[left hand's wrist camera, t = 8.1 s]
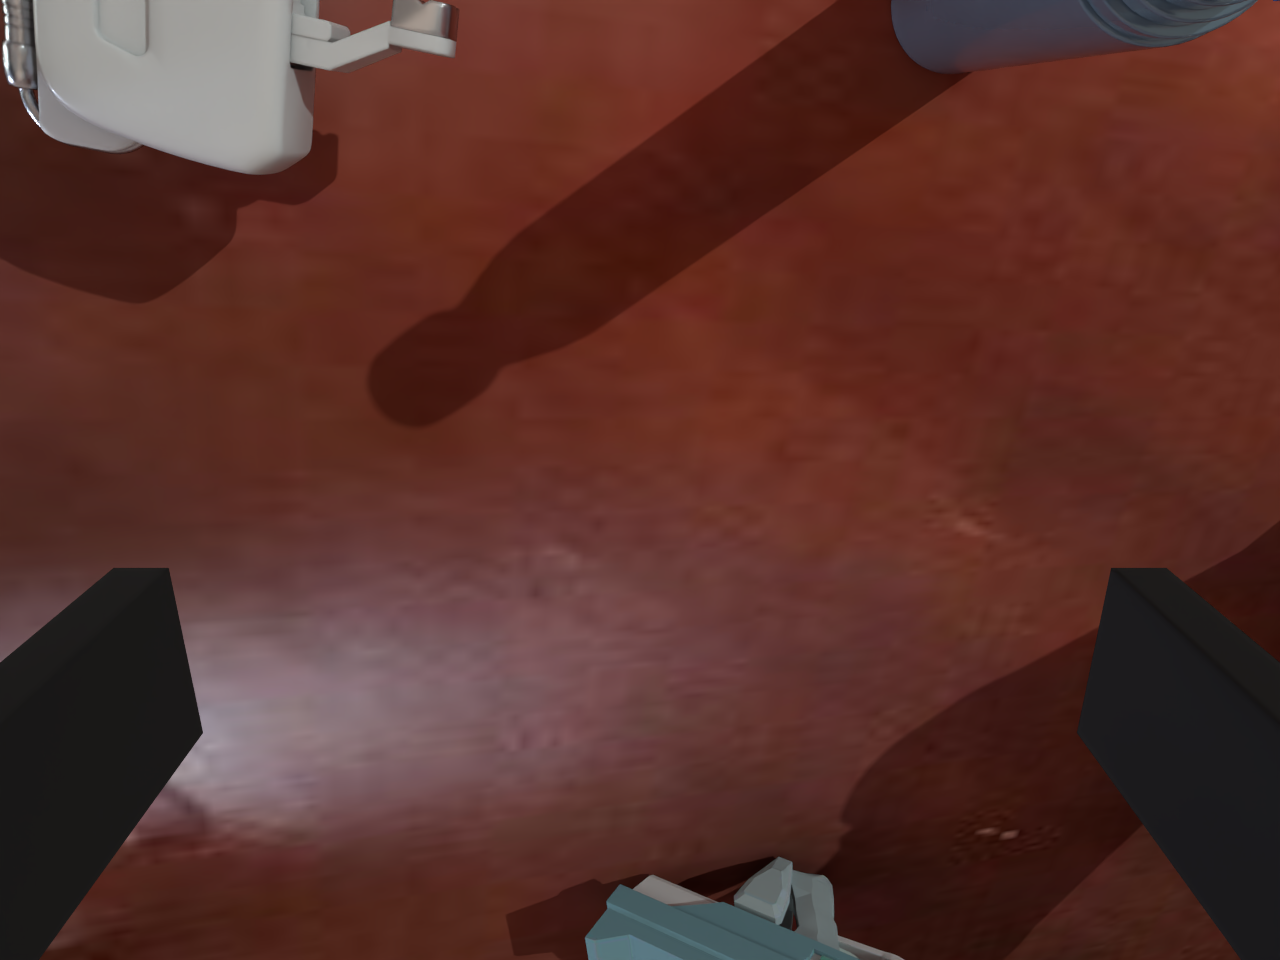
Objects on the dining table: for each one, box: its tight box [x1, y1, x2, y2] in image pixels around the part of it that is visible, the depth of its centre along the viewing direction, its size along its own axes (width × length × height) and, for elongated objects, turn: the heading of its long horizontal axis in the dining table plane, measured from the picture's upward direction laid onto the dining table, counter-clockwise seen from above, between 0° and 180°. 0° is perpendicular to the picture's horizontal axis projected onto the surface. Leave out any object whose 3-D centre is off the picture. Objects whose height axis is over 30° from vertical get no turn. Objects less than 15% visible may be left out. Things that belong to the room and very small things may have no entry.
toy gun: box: [585, 857, 904, 960], centre depth 45 cm, size 4×19×10 cm
